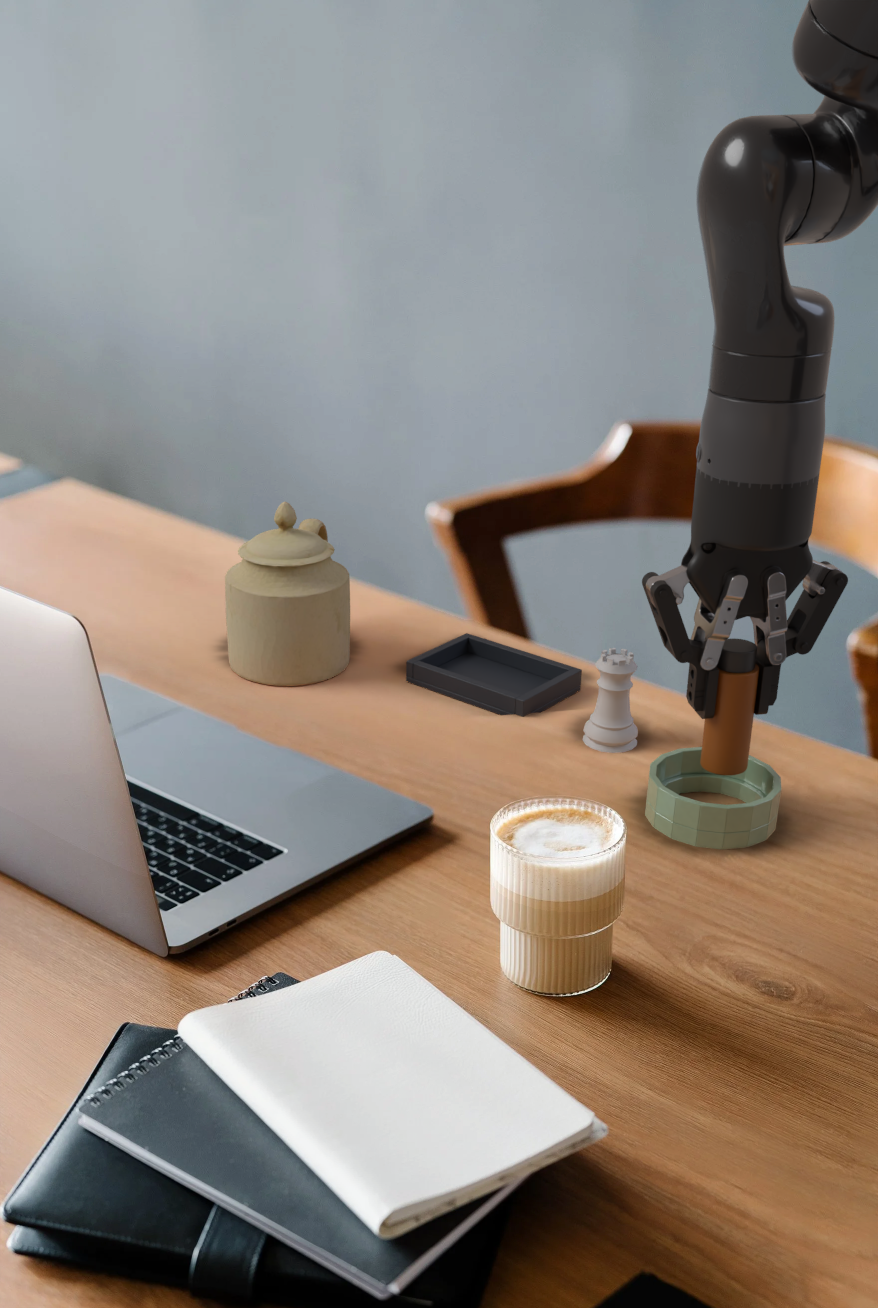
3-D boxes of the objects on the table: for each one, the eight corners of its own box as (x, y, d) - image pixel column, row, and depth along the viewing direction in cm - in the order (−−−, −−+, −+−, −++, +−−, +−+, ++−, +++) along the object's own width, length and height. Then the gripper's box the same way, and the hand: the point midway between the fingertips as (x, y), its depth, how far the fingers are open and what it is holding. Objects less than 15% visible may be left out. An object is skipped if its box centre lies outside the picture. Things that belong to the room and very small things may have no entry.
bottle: (736, 753, 99) (750, 634, 94) (754, 773, 96) (769, 652, 92) (693, 756, 98) (705, 638, 94) (710, 777, 95) (723, 656, 91)
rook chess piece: (569, 745, 111) (576, 653, 108) (605, 729, 114) (612, 638, 110) (613, 764, 108) (622, 670, 105) (649, 747, 111) (658, 654, 107)
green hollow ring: (742, 796, 104) (749, 742, 102) (794, 858, 96) (803, 801, 94) (626, 806, 103) (631, 751, 100) (670, 870, 95) (676, 812, 93)
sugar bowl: (215, 629, 133) (207, 475, 126) (328, 620, 135) (326, 468, 129) (237, 692, 120) (230, 524, 113) (362, 680, 122) (362, 515, 116)
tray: (580, 690, 121) (582, 669, 120) (522, 722, 115) (523, 701, 114) (465, 652, 128) (466, 632, 127) (405, 681, 122) (406, 660, 121)
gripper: (671, 485, 83) (649, 744, 91) (892, 472, 85) (852, 727, 93) (631, 453, 90) (613, 697, 97) (836, 442, 92) (803, 682, 99)
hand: (730, 710), depth 95 cm, fingers closed on bottle, 3 cm apart
